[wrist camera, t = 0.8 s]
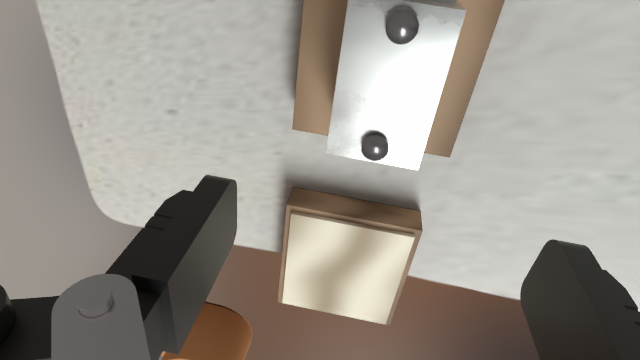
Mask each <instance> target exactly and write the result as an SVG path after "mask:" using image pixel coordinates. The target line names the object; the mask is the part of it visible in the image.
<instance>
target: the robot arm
mask: <svg viewBox="0 0 640 360" xmlns="http://www.w3.org/2000/svg"><path fill="white" fill-rule="evenodd" d="M236 230H237V184H236V181H235V180H232V179H227V178H221V177H216V176H210V175H206V176H204V178H203V179H202V180H201V182H200V183H199V184H198V186H197V187H196V188H195V190H194V191H193V192H191V191H186V190H182V191H180V192H179V193H177V194H175V195H174V196H172V197H170V198H168V199H167V200H165V202H164V203H163V204H162V205H161V206H160V208H159V209H158V210H157V211H156V212H155V214H154V217H153V216H152V217H151V218H150V220H149V221H148V222H147V223H146V225H145V228H142V229H141V231H140V232H139V233H138V234H137V236H136V237H135V238H134V239H133V240H132V242H131V243H130V244H129V245H128V246H127V248H126V249H125V250H124V251H123V253H122V254H121V255H120V256H119V257H118V259H117V260H116V261H115V262H114V263H113V265H112V266H111V267H110V268H109V269H108V271H107V272H106V273H105V274H100V275H95V276H92V277H88V278H85V279H83V280H80V281H79V282H77V283H75V284H73V285H72V286H70V287H69V288H68V289H66V290H65V291H64V292H63V293H62V294H61V295H60V296H54V297H41V298H29V299H13V300H10V299H9V298H8V295H7V293H6V291H5V290H4V288H3V287H2V286H1V285H0V360H158V359H159V357H160V355H161V354H162V352H163V351H164V352H169V353H174V354H178V355H179V352H180V350H181V348H182V346H183V344H184V342H185V340H186V338H187V336H188V334H189V332H190V330H191V328H192V326H193V324H194V322H195V320H196V318H197V316H198V314H199V312H200V310H201V308H202V306H203V304H204V302H205V300H206V298H207V296H208V294H209V292H210V290H211V288H212V286H213V284H214V282H215V280H216V278H217V276H218V274H219V272H220V270H221V268H222V266H223V264H224V262H225V260H226V258H227V256H228V254H229V252H230V250H231V248H232V246H233V243H234V240H235V236H236ZM520 298H521V305H522V308H523V311H524V314H525V317H526V320H527V323H528V326H529V329H530V332H531V335H532V337H533V340H534V343H535V346H536V349H537V352H538V355H539V358H540V360H640V312H638V307H637V305H636V304H635V302H634V301H633V299H632V298H631V296H630V295H629V293H628V291H627V290H626V288H624V287H623V286H622V285H621V284H620V283H619V282H618V281H617V280H616V279H615V278H614V277H613V276H612V275H611V274H609V273H608V272H607V271H606V270H602V269H601V267H600V265H599V264H598V262H597V260H596V259H595V257H594V255H593V254H592V252H591V251H590V249H589V248H588V247H587V246H585V245H580V244H574V243H569V242H563V241H558V240H550V241H548V242H547V243H546V244H545V245H544V247H543V249H542V250H541V252H540V254H539V256H538V257H537V259H536V261H535V262H534V264H533V266H532V267H531V269H530V271H529V273H528V274H527V276H526V278H525V279H524V281H523V284H522V287H521V297H520Z"/></svg>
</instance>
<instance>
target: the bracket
mask: <svg viewBox="0 0 640 360" xmlns="http://www.w3.org/2000/svg"><path fill="white" fill-rule="evenodd" d="M252 334H253V332H252V328H251V326H250V324H249V323H248V322H247V320H246V319H245V318H244V317H243V316H242V315H240V314H239V313H237V312H236V311H234V310H232V309H230V308H228V307H225V306H222V305H218V304H214V303H210V302H206V301H205V302H204V304H203V306H202V308H201V310H200V312H199V314H198V316H197V318H196V320H195V322H194V324H193V326H192V328H191V330H190V332H189V334H188V336H187V338H186V340H185V342H184V344H183V346H182V348H181V350H180V352H179V355H178V354H174V353H169V352H164V351H163V352H162V354H161V355H160V356H163V358H162V360H245V356H246V354H247V351H248V348H249V345H250V342H251V339H252Z"/></svg>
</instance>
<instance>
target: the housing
mask: <svg viewBox="0 0 640 360" xmlns="http://www.w3.org/2000/svg"><path fill="white" fill-rule="evenodd" d="M466 11H467V10H466V9H465V8H464V7H463V6H462V5H461V3H460V2H459V1H458V0H348V4H347V11H346V18H345V25H344V32H343V38H342V45H341V52H340V59H339V66H338V73H337V80H336V86H335V93H334V100H333V107H332V114H331V121H330V128H329V134H328V141H327V148H326V153H327V154H332V155H338V156H343V157H349V158H354V159H360V160H365V161H371V162H376V163H382V164H387V165H393V166H398V167H404V168H409V169H415V170H418V168H419V165H420V162H421V158H422V155H423V152H424V149H425V145H426V142H427V139H428V135H429V132H430V129H431V126H432V122H433V119H434V116H435V112H436V109H437V106H438V103H439V99H440V96H441V93H442V89H443V86H444V83H445V80H446V76H447V73H448V70H449V66H450V63H451V60H452V57H453V53H454V50H455V47H456V43H457V40H458V37H459V34H460V30H461V27H462V24H463V20H464V17H465V14H466Z"/></svg>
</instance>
